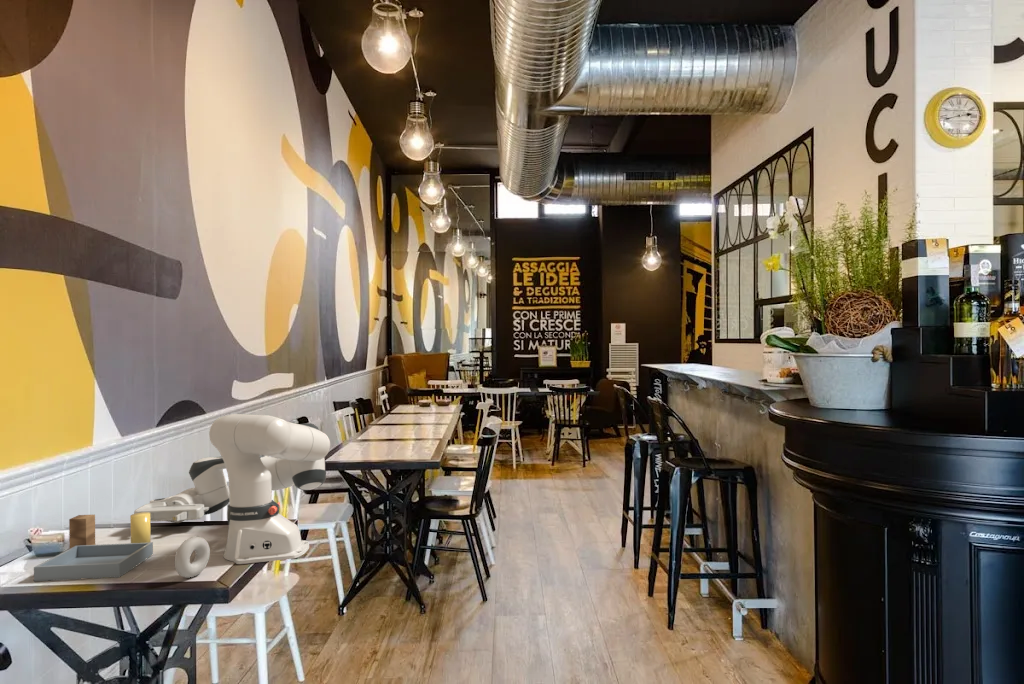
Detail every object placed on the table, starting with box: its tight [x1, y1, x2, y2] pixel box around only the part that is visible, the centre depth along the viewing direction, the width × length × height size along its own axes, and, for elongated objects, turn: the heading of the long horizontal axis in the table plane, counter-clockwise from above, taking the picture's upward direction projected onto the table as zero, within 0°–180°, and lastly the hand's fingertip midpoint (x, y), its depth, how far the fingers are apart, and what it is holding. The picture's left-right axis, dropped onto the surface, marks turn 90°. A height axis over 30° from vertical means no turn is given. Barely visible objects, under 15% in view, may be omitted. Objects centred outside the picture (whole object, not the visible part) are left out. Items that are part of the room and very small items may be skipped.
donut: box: [174, 535, 211, 579], centre depth 159 cm, size 10×4×10 cm, turn 162°
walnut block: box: [68, 514, 96, 549], centre depth 181 cm, size 4×4×10 cm
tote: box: [33, 541, 154, 582], centre depth 167 cm, size 20×18×4 cm
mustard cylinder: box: [129, 512, 152, 543], centre depth 182 cm, size 5×5×10 cm
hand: (159, 519), depth 194 cm, fingers open, 8 cm apart
